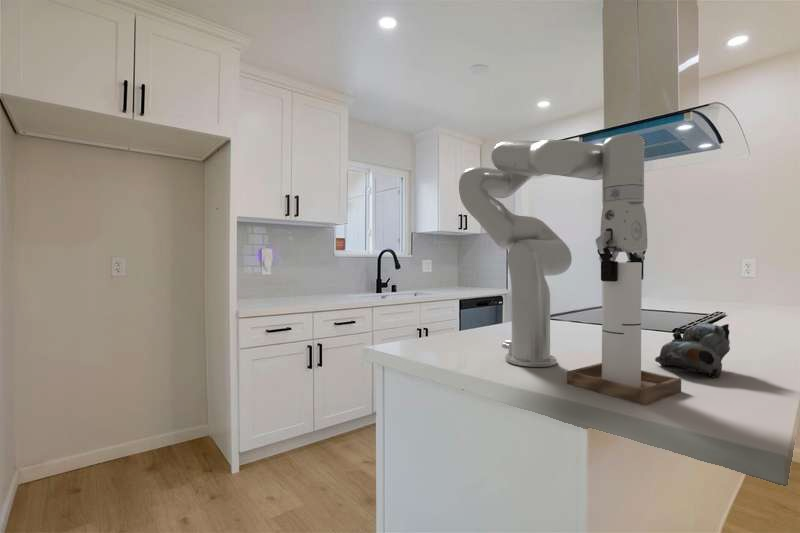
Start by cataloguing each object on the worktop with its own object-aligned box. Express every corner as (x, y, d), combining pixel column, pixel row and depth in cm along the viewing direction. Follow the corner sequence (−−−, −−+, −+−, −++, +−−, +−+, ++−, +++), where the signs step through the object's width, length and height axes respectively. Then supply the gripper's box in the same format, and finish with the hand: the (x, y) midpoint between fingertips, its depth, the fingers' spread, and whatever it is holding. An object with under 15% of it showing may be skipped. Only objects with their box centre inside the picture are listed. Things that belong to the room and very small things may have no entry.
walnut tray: (567, 383, 87) (567, 371, 87) (604, 372, 95) (604, 362, 95) (645, 405, 74) (645, 391, 74) (681, 391, 81) (681, 378, 81)
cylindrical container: (646, 389, 80) (647, 262, 80) (607, 387, 82) (608, 262, 81) (633, 378, 87) (634, 262, 87) (597, 377, 89) (598, 262, 88)
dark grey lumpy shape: (649, 361, 105) (672, 313, 106) (702, 386, 99) (725, 335, 101) (663, 357, 91) (689, 302, 92) (725, 385, 86) (752, 326, 87)
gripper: (617, 190, 76) (617, 282, 76) (663, 198, 85) (662, 279, 85) (580, 196, 82) (580, 281, 82) (626, 202, 91) (626, 278, 92)
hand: (622, 280), depth 84 cm, fingers open, 9 cm apart
